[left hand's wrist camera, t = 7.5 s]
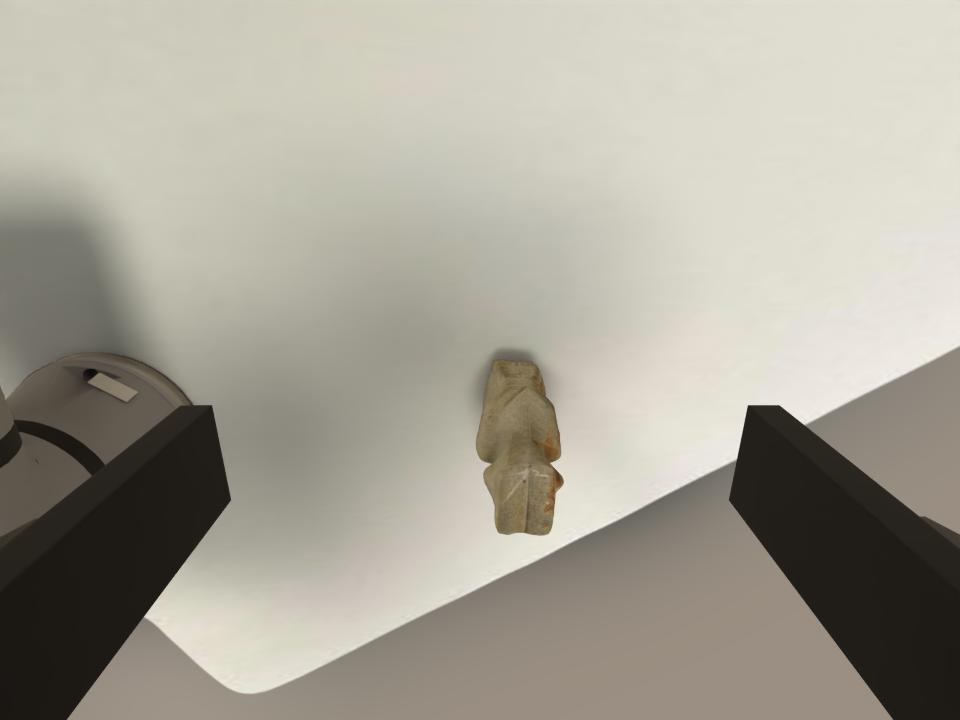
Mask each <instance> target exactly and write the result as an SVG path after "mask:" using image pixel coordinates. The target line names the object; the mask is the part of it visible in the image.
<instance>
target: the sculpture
mask: <svg viewBox="0 0 960 720" xmlns="http://www.w3.org/2000/svg"><path fill="white" fill-rule="evenodd" d="M476 449H477V453H478V456H479V458H480V459H481V460H482V461H484V462H487V463H491V465H490V466H489V467H487V468H486V469H485V471H484V473H483V476H484V482H485V484H486V486H487V488H488V490H489V492H490V494H491V496H492V499H493V502H494V505H495V525H496V528H497V531H498V532H499V533H500V534H506V535H510V534H513V533H519V532H520V533H527V534H531V535H539V536H541V535H547V534H549V532H550V531H551V528H552V524H553V517H554V505H555V493H556V492H557V491H558V490H559V489H560V488H561V487H562V485H563V483H564V480H563V478H562V476H561V475H560V474H559V473H558V472H557V470H556V469H555V468H554V467H553V466H552V465H551V464H550V463H551V462H554V461H556V460H558V459H559V458H560V457H561V445H560V433H559V430H558V425H557V420H556V414H555V409H554V406H553V404H552V403H551V402H550V401H549V400H548V398H547V397H546V393H545V386H544V383H543V379H542V376H541V373H540V370H539V368H538V367H537V365H535V364H534V363H532V362H527V361H520V362H514V361H507V360H495V361H494V362H493V366H492V371H491V374H490V376H489V379H488V383H487V386H486V390H485V396H484V403H483V412H482V416H481V421H480V425H479V430H478V434H477V439H476Z"/></svg>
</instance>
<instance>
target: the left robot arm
mask: <svg viewBox="0 0 960 720" xmlns="http://www.w3.org/2000/svg"><path fill="white" fill-rule="evenodd" d="M230 501H231V497H230V492H229V487H228V482H227V477H226V472H225V467H224V463H223V458H222V453H221V448H220V443H219V438H218V433H217V428H216V423H215V418H214V413H213V408H212V405H191V404H190V403H189V401H188V400H187V399H186V397H185V396H184V395H183V394H182V393H181V392H180V390H179V389H178V388H176V387H175V386H174V385H173V384H172V383H171V382H170V381H169V380H167V379H166V378H165V377H164V376H162V375H161V374H159V373H158V372H156V371H155V370H153V369H151V368H150V367H148V366H146V365H144V364H142V363H139V362H137V361H134V360H132V359H129V358H126V357H123V356H118V355H114V354H108V353H95V352H93V353H80V354H75V355H71V356H67V357H64V358H62V359H59V360H57V361H55V362H53V363H51V364H48V365H46V366H44V367H42V368H40V369H38V370H36V371H35V372H33V373H32V374H30V375H29V376H28V377H27V378H26V379H24V381H23V382H22V383H21V384H20V385H19V386H18V387H17V388H16V389H15V391H14V392H13V393H12V394H11V395H10V396H9V397H8V398H7V399H5V397H4V395H3V392H2V390H1V387H0V720H67V719H68V717H69V716H70V715H71V713H72V712H73V711H74V709H75V708H76V706H77V705H78V704H79V702H80V701H81V700H82V699H83V697H84V696H85V695H86V693H87V692H88V690H89V689H90V688H91V686H92V685H93V684H94V682H95V681H96V680H97V678H98V677H99V676H100V675H101V673H102V672H103V671H104V669H105V668H106V666H107V665H108V664H109V662H110V661H111V660H112V658H113V657H114V656H115V654H116V653H117V652H118V650H119V649H120V648H121V646H122V645H123V644H124V642H125V641H126V640H127V638H128V637H129V636H130V634H131V633H132V632H133V630H134V629H135V628H136V626H137V625H138V624H139V622H140V621H141V620H142V618H143V617H144V616H145V614H146V613H147V612H148V610H149V609H150V608H151V606H152V605H153V604H154V602H155V601H156V600H157V598H158V597H159V596H160V594H161V593H162V592H163V590H164V589H165V588H166V586H167V585H168V584H169V582H170V581H171V580H172V578H173V577H174V576H175V574H176V573H177V572H178V570H179V569H180V568H181V566H182V565H183V564H184V562H185V561H186V560H187V558H188V557H189V556H190V554H191V553H192V552H193V550H194V549H195V548H196V546H197V545H198V544H199V542H200V541H201V540H202V538H203V537H204V536H205V534H206V533H207V532H208V530H209V529H210V528H211V526H212V525H213V524H214V522H215V521H216V520H217V518H218V517H219V516H220V514H221V513H222V512H223V510H224V509H225V508H226V506H227V505H228V504H229V502H230ZM729 501H730V502H731V504H732V505H733V506H734V508H735V509H736V510H737V511H738V513H739V514H740V516H741V517H742V518H743V520H744V521H745V522H746V524H747V525H748V526H749V528H750V529H751V530H752V532H753V533H754V534H755V536H756V537H757V538H758V540H759V541H760V542H761V544H762V545H763V546H764V548H765V549H766V550H767V552H768V553H769V554H770V556H771V557H772V558H773V560H774V561H775V562H776V564H777V565H778V566H779V568H780V569H781V570H782V572H783V573H784V574H785V576H786V577H787V578H788V580H789V581H790V582H791V584H792V585H793V586H794V588H795V589H796V590H797V592H798V593H799V594H800V596H801V597H802V598H803V600H804V601H805V602H806V604H807V605H808V606H809V608H810V609H811V610H812V612H813V613H814V614H815V616H816V617H817V618H818V620H819V621H820V622H821V624H822V625H823V626H824V628H825V629H826V630H827V632H828V633H829V634H830V636H831V637H832V638H833V640H834V641H835V642H836V644H837V645H838V646H839V648H840V649H841V650H842V652H843V653H844V654H845V656H846V657H847V658H848V660H849V661H850V662H851V664H852V665H853V666H854V668H855V669H856V670H857V672H858V673H859V675H860V676H861V677H862V679H863V680H864V681H865V683H866V684H867V685H868V687H869V688H870V689H871V691H872V692H873V693H874V695H875V696H876V697H877V698H878V700H879V701H880V703H881V704H882V705H883V707H884V708H885V709H886V711H887V712H888V713H889V715H890V716H891V717H892V719H893V720H960V535H959V534H957V533H956V532H954V531H952V530H950V529H948V528H946V527H944V526H942V525H940V524H938V523H937V522H935V521H933V520H931V519H929V518H927V517H919V516H918V515H917V514H915V513H914V512H913V511H912V510H910V509H909V508H908V507H907V506H905V505H904V504H903V503H902V502H900V501H899V500H898V499H897V498H895V497H894V496H893V495H891V494H890V493H889V492H888V491H886V490H885V489H884V488H883V487H881V486H880V485H879V484H878V483H876V482H875V481H874V480H873V479H871V478H870V477H869V476H868V475H866V474H865V473H864V472H862V471H861V470H860V469H859V468H857V467H856V466H855V465H854V464H852V463H851V462H850V461H849V460H847V459H846V458H845V457H844V456H842V455H841V454H840V453H839V452H837V451H836V450H835V449H834V448H832V447H831V446H830V445H829V444H827V443H826V442H825V441H823V440H822V439H821V438H820V437H818V436H817V435H816V434H815V433H813V432H812V431H811V430H810V429H808V428H807V427H806V426H805V425H803V424H802V423H801V422H800V421H798V420H797V419H796V418H795V417H793V416H792V415H791V414H790V413H788V412H787V411H786V410H784V409H783V408H782V407H781V406H779V405H748V408H747V413H746V418H745V423H744V428H743V433H742V438H741V443H740V448H739V453H738V458H737V463H736V468H735V473H734V477H733V482H732V487H731V492H730V497H729Z"/></svg>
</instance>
